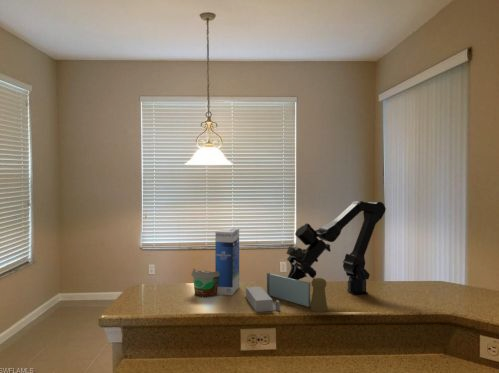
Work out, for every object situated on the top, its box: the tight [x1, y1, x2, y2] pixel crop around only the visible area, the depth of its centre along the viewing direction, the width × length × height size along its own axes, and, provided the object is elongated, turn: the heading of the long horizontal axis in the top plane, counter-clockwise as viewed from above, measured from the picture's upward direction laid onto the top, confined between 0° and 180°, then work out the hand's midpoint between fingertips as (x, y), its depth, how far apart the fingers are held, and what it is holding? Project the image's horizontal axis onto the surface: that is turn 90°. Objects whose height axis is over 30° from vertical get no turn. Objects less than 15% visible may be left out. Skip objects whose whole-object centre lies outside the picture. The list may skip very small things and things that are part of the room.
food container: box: [191, 268, 220, 298], centre depth 156 cm, size 12×6×10 cm, turn 68°
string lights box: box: [214, 227, 240, 296], centre depth 163 cm, size 13×8×26 cm, turn 168°
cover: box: [269, 273, 311, 308], centre depth 148 cm, size 2×20×8 cm, turn 42°
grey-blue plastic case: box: [245, 272, 281, 313], centre depth 146 cm, size 10×20×9 cm, turn 12°
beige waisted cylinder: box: [310, 277, 328, 313], centre depth 138 cm, size 6×6×11 cm
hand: (287, 282), depth 150 cm, fingers closed
